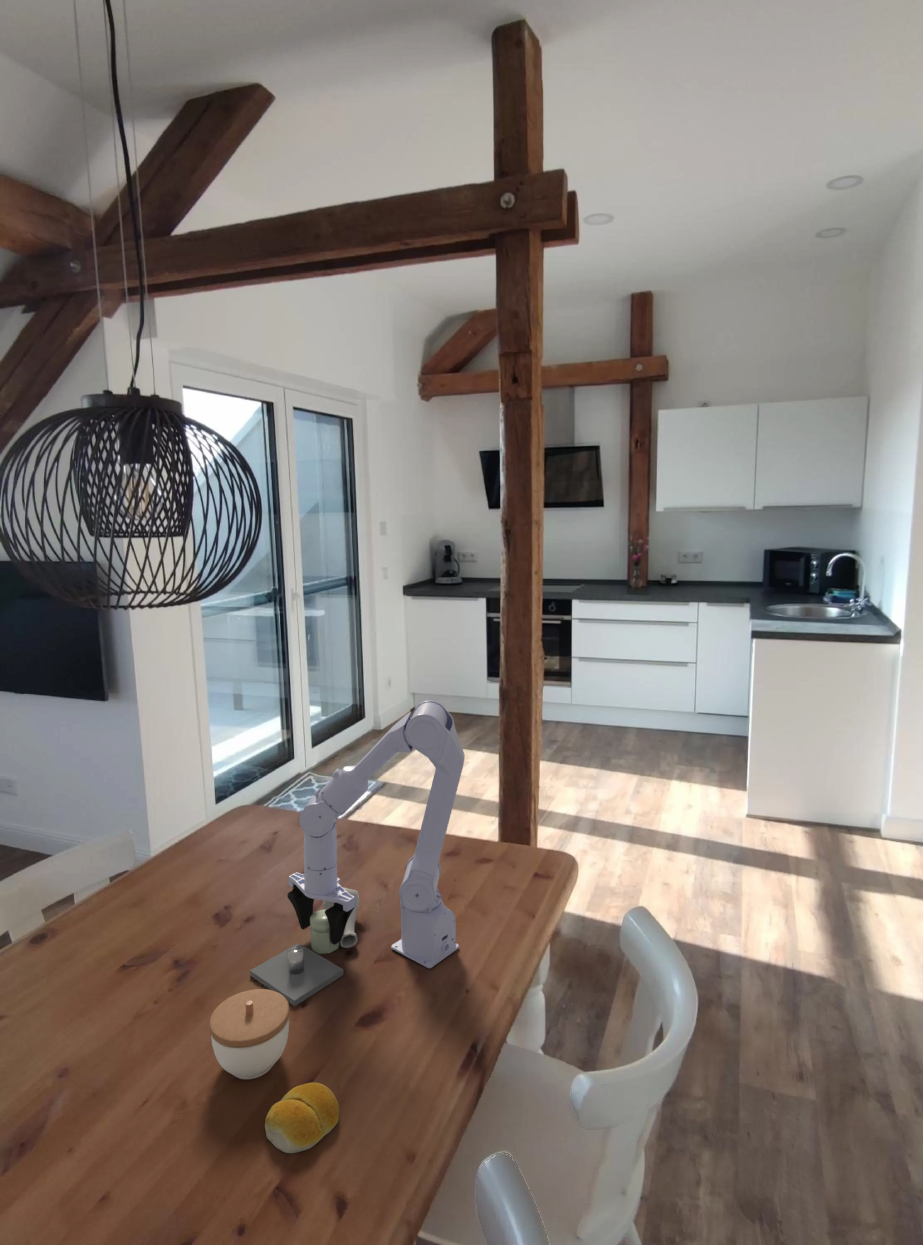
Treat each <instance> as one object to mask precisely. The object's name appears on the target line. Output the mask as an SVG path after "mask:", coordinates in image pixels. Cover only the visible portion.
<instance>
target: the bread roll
mask: <svg viewBox="0 0 923 1245" xmlns="http://www.w3.org/2000/svg"><path fill="white" fill-rule="evenodd" d="M339 1118H340V1108H339V1101H338V1100H337V1097H336V1096H335V1094H334V1092H333V1091H332V1089H330V1088H329V1087H328V1086H326V1085H325V1084H323V1083H320V1082H308V1083H303V1084H300V1085H297V1086H295V1087H293V1088H291V1089H290V1090H289V1091H287V1093H286V1094H285V1095H283V1097H282V1098H281V1099H280V1100H279V1101H276V1103H273V1105H272V1106H271V1107H270V1109H269V1110H268V1112H267V1114H266V1117H265V1122H264V1130H265V1135H266V1136H265V1137H266V1138H267V1140H268V1141H269V1142H270V1143H271V1144H273V1146H274V1147H275V1148H276V1149H278V1150H280V1151H281V1152H283V1153H285V1154H295V1153H300V1152H303V1151H307V1150H309V1149H311V1148H313V1147H314V1146H316V1144H318V1143H319V1142H320V1141H321V1140H322V1139H324V1137H325V1136H326V1135H328V1134H329V1133H330V1132H331V1131H332V1130H333V1129H334V1128H335V1127H336V1125H337V1124H338V1122H339Z"/></svg>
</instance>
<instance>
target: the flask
mask: <svg viewBox="0 0 923 1245" xmlns="http://www.w3.org/2000/svg"><path fill="white" fill-rule="evenodd" d="M343 888H344V889H345V890H346V891H347V892H348V893H349V894H350V895H352V896H354V897H355V908H354V909H353V911H352V913H351V915H350V917H349V919H348V921H347V924H346V927H345V930H344V934H343V936H342V939H341V941H340V942H339V945H340V947H341V948H344V949H349V948H353V947H355V946H356V944H357V942H358V941H359V940H358V935H357V933H355V926H356V920H357V915H358V911H359V908H360V904H361V900H360V897H359V896H360V895H359V892H358V890H356V889H353V888H352V889H351V888H348V887H343ZM321 905H322V910H325V909H329V908H330V907H332V906H334V903H332V902H329V901H323V900H322V904H321Z"/></svg>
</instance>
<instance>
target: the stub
mask: <svg viewBox="0 0 923 1245" xmlns="http://www.w3.org/2000/svg"><path fill="white" fill-rule="evenodd" d="M291 947H292V946H291ZM289 948H290V947H289ZM288 964H289V973H290V974H293V975H297V974H300V973H302V972H303V971H304V956H303V948H302V947H299V946H295V947H292V948H290V949H289V950H288Z"/></svg>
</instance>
